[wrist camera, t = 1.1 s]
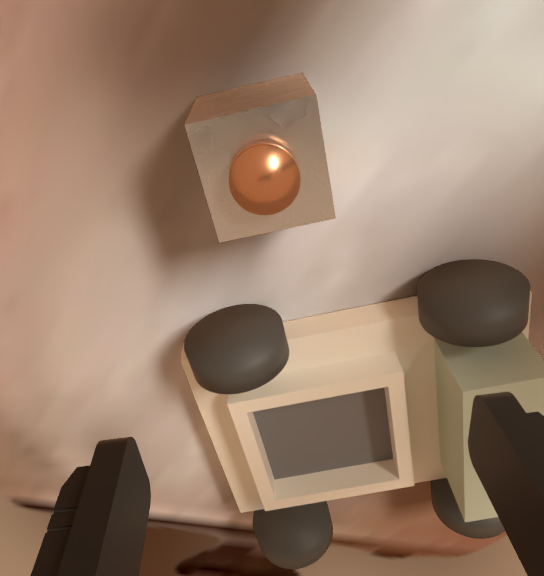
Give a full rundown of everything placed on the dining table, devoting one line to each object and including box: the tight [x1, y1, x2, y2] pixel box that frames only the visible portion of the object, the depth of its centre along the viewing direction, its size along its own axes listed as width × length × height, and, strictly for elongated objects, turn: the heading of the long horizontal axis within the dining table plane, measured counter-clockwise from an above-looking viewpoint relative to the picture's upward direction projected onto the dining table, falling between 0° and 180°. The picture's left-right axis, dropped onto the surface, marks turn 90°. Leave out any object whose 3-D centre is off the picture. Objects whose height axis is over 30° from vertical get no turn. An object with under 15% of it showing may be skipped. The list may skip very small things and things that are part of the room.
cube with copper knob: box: [184, 73, 336, 243], centre depth 24 cm, size 6×6×7 cm
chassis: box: [180, 260, 544, 569], centre depth 34 cm, size 22×20×7 cm
